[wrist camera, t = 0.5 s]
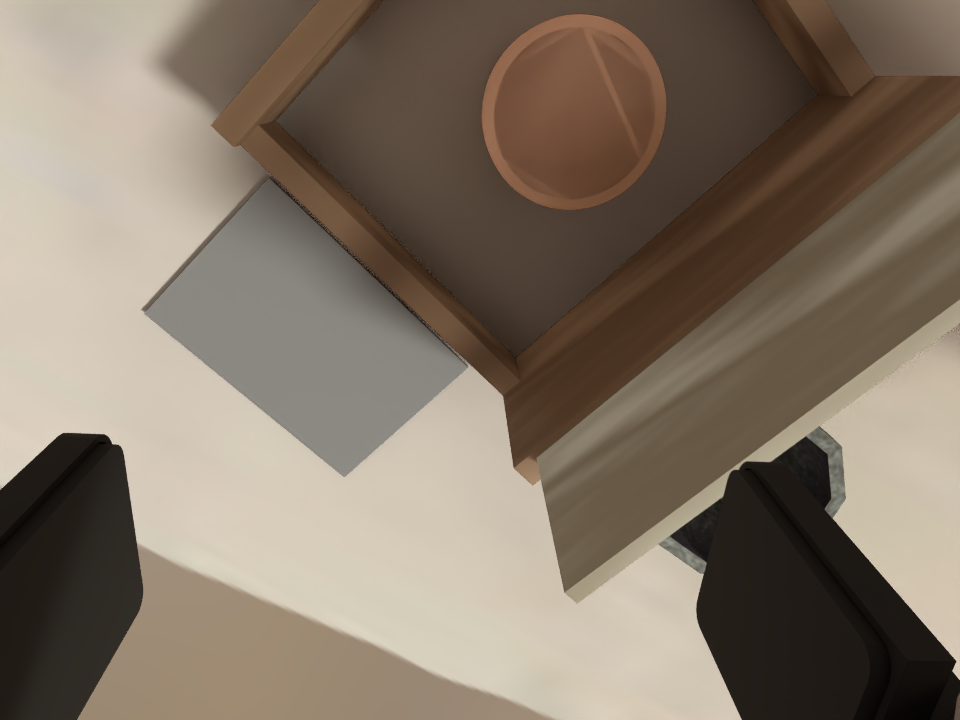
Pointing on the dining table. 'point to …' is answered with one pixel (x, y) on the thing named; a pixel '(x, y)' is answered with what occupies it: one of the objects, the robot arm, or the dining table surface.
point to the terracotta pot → (574, 111)
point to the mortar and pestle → (808, 461)
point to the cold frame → (692, 291)
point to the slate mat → (305, 331)
